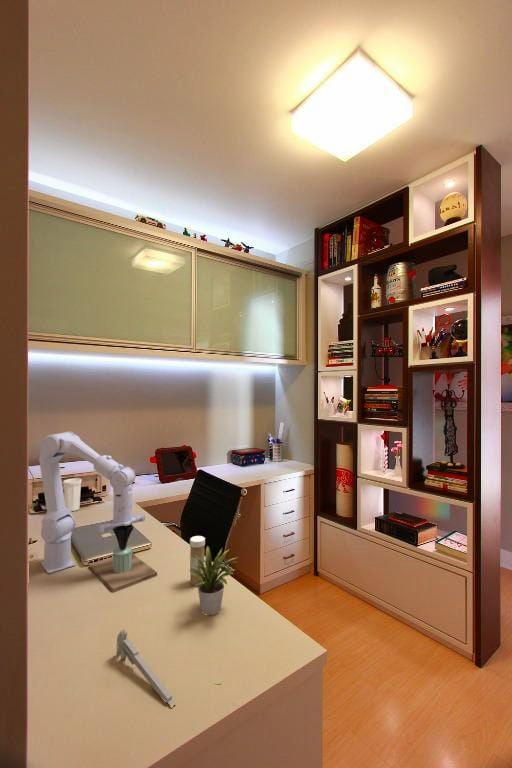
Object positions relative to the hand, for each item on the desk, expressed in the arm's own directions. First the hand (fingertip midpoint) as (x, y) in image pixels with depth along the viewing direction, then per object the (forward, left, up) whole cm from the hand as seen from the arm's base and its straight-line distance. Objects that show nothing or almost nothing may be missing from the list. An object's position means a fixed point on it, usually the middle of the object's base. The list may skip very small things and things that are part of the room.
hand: (122, 548), depth 118 cm
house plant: (+37, +8, -8) cm, 39 cm away
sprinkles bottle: (+22, +14, -8) cm, 27 cm away
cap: (0, 0, -6) cm, 6 cm away
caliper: (+45, -15, -8) cm, 48 cm away
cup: (-74, +7, -8) cm, 75 cm away
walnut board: (0, 0, -7) cm, 7 cm away
